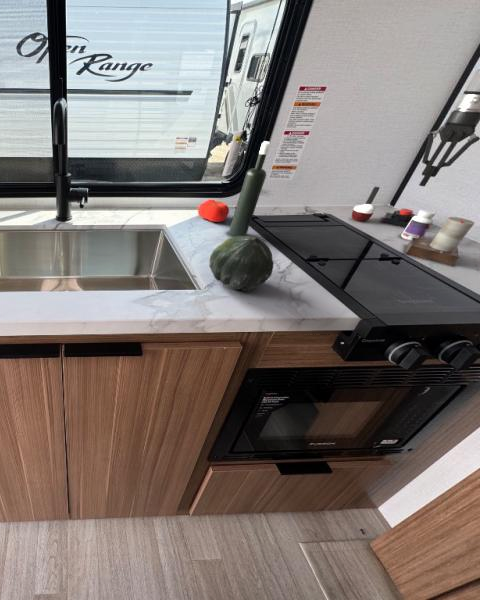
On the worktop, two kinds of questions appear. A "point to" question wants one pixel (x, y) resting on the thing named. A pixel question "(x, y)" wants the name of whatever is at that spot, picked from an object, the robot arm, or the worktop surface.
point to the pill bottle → (418, 225)
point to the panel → (431, 252)
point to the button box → (397, 219)
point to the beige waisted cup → (451, 234)
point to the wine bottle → (249, 195)
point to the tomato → (213, 210)
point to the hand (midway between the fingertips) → (421, 185)
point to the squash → (242, 262)
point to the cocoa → (365, 208)
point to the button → (406, 212)
